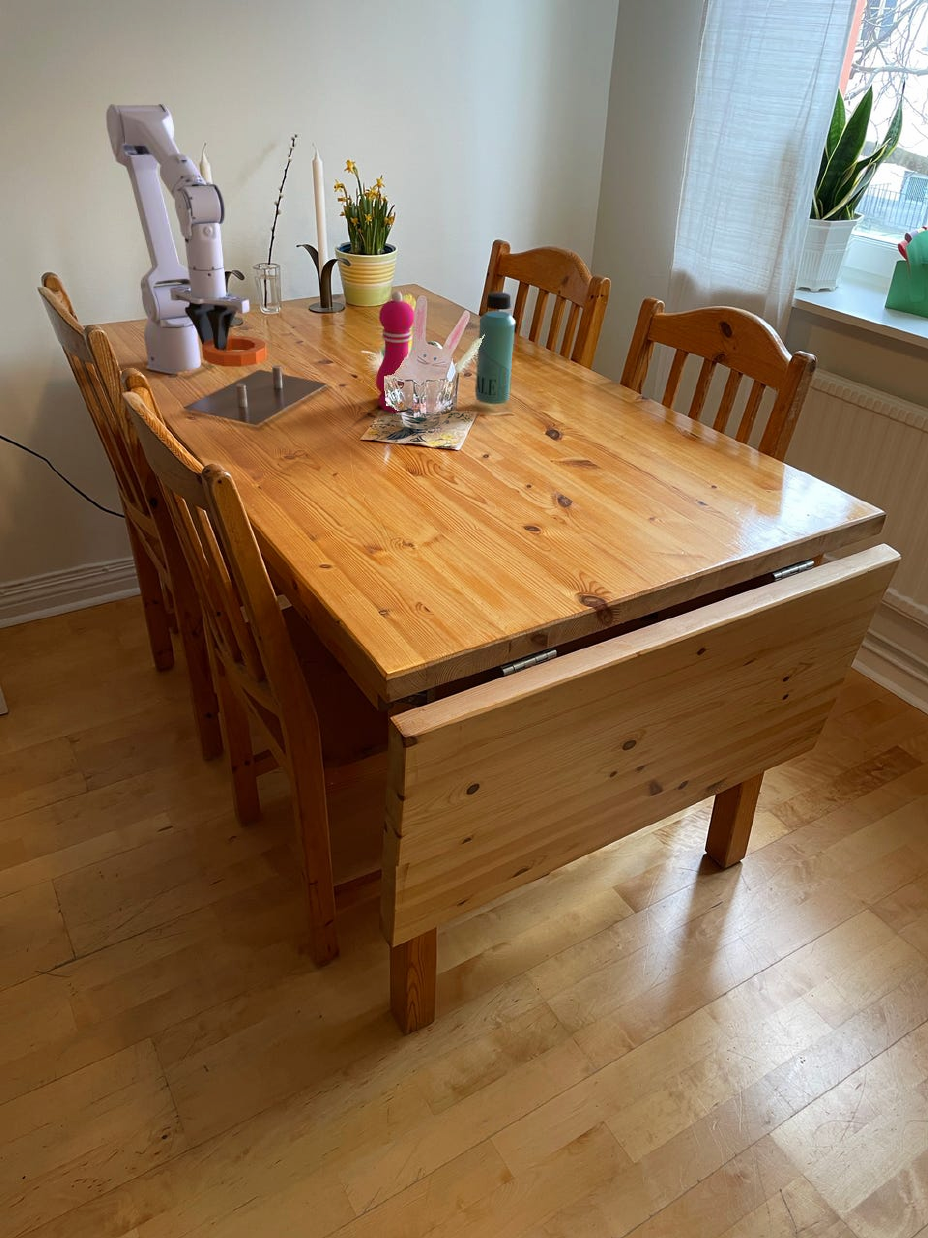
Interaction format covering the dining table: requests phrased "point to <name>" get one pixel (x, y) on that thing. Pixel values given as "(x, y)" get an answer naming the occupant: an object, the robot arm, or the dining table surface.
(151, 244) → the robot arm
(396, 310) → the pepper mill
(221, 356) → the ring
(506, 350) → the beverage bottle
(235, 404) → the peg board
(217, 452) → the dining table surface
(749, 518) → the dining table surface
